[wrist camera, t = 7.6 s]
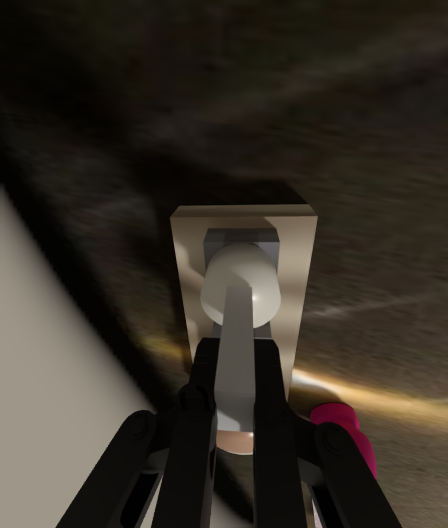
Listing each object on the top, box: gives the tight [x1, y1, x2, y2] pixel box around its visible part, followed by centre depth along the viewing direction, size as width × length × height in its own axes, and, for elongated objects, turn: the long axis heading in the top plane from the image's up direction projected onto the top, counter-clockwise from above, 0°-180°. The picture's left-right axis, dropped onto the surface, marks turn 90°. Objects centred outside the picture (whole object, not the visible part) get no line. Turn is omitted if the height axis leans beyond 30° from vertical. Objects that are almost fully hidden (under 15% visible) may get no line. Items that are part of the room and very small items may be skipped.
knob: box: [200, 244, 281, 328], centre depth 17 cm, size 5×5×5 cm
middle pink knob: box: [216, 428, 253, 453], centre depth 19 cm, size 4×4×6 cm
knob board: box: [170, 204, 318, 400], centre depth 24 cm, size 25×11×6 cm, turn 2°
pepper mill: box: [310, 403, 376, 479], centre depth 26 cm, size 7×7×20 cm
